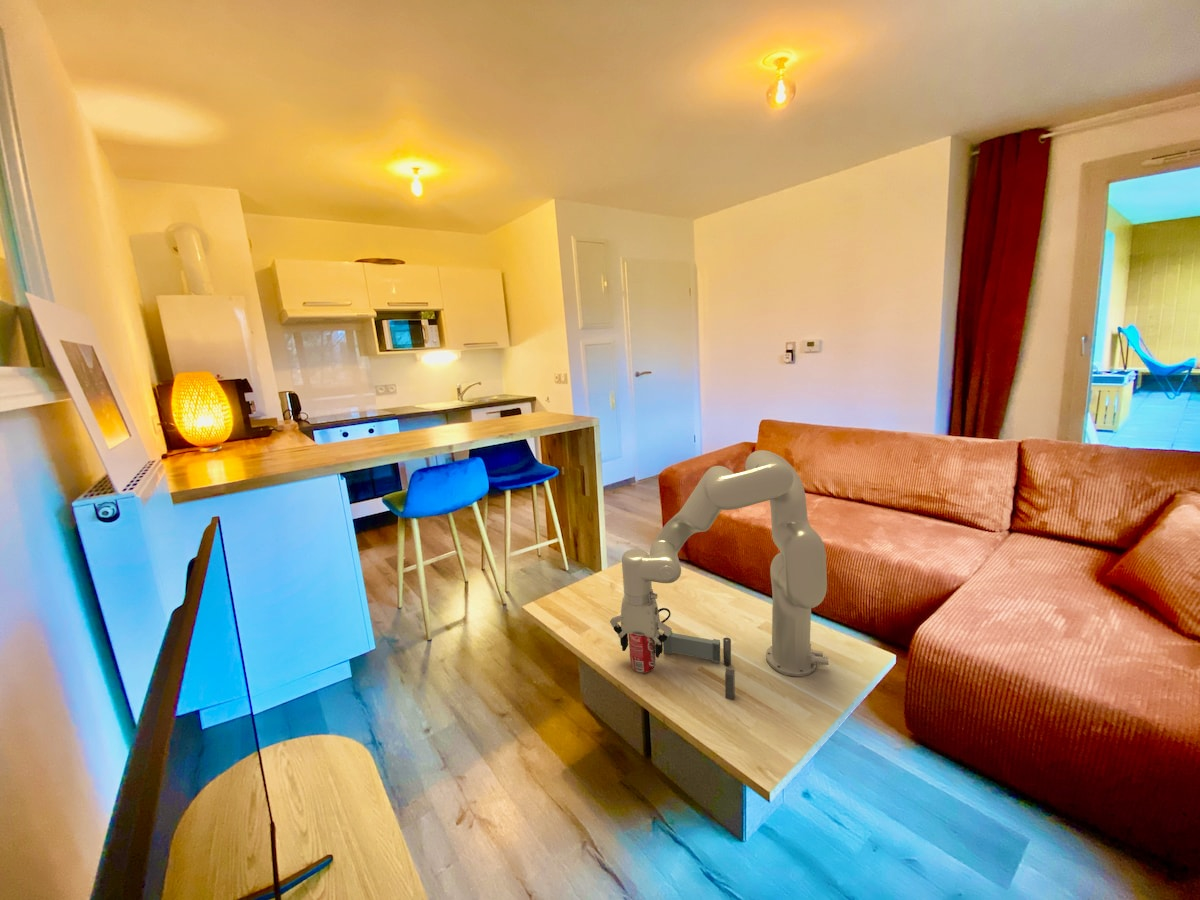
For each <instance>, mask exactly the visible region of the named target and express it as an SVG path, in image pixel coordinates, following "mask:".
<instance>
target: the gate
mask: <svg viewBox="0 0 1200 900" xmlns="http://www.w3.org/2000/svg"><path fill="white" fill-rule="evenodd" d="M664 633H665V632H664V631H663V634H664ZM663 653H664V654H669V655H672V653H675V654H681V655H686V656H690V657H691V656H692V657H696V658H701V659H706V660H711V661H712V662H713V663H717V664H720V662H721V640H720V639H717V638H713V639H710V638H703V637H698V636H692V635H688V634H687V635H686V634H681V633H674V632H673V631H672V630H671V633H670V634H669V636H668V638H667V640H665V641H664V642H663Z"/></svg>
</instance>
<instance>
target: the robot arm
mask: <svg viewBox="0 0 1200 900" xmlns="http://www.w3.org/2000/svg"><path fill="white" fill-rule="evenodd" d="M744 468H745V470H743V471H741V472H736V473H734V472H733V471H732V470H731V469H729V468H728V467H726V466H722V465H713V466H711V467H710V468H709V469H708V470H706V472H704V474H703V476H702V477H701V478H700V479H699V481H698V483H697V484H696V486H695V488H694V489H693V491H692V492H691V493H690V496H689V497H688V498H687V500H686V501H685V503H684V505H683V506H682V507H681V509H680V510H679V511H678V512H677V513H676V514H675V515H674V516H673V517H672V518H670V519H669V520H668V521H667V522H666V523H665V524H664V525H663V526H662V529H661V530H660V532H659V533H658V534H657V536H656V538H655V539H654V541H653V542H652V544H651V547H650V550H649V552H648V551H646V550H644V549H640V548H633V549H629V550H626V551H625V552H623V554H622V556H621V567H622V568H621V570H622V583H623V598H622V601H621V607H620V608H621V610H620V615H618V616H615V617H611V619H610V620H609V622H610V624H611V625H610V626H612V628H613V631H615V633H616V634H617V635H618V638H619V639H620V646H621V649H622V651H623V652H625V651H626V650H627V648H628V646H629V634H633V633H636V634H645V636H646V637H650V638H653V639H654V641H655V657H656V658H657V659H659V658H660V655H661V654H662V653H664V648H663V642H664V641H665V640H667V638H668V636H669V634H670V633H671V631H672V628H671V627H670V626H668V625H666V624H665V622H664V623H662V622H661V621H660V620H661V619H660V612H659V611H658V610H659V605H658V606H657V604H658V602H657V599H658V593H656V592H654V589H653V586H652V585H653V584H652V582H653V583H657V584H659V583H660V584H672V583H675V582H676V581H678V580H679V579H680V577H681V574H682V567H681V562H680V560H679V559H680V558H679V555H678V553H679V552H680V551H681V548H682V547H683V546H684V545H685V543H686V542H687V540H688V539H689V538H690V537H692V535H694V534H696V533H701V532H702V533H703V532H704V533H705V532H707V531H708V530H709V529H710V528H711V526H712V525H713V524H714V522H715V521H716V519H717V518H718V516H719V515H720V513H721V512H722V510H723V511H731V510H737V509H742V508H746V507H749V506H754V505H756V504H757V505H758V504H761V503H764V502H769V505H770V517H771V537H772V541H773V543H774V545H775V546H776V547H777V549H778V550H779V552H778V553H777V554H776V555H775V556H774V557H773V559H772V561H771V564H770V569H769V570H770V571H769V572H770V583H771V590H772V591H771V592H772V606H771V607H772V608H771V609H772V610H771V611H772V612H771V613H772V614H771V615H772V618H771V619H772V620H771V622H772V625H771V646H769V647H768V648H767V649H766V652H765V657H766V658H765V659H766V662H767V663H768V665H769V666H770V668H772V669H774V670H775V671H776V672H779V673H780V674H783V675H786V676H791V677H804V676H808V675H810V674H812V673H813V672H814V671H815V669H816V666H817V665H816V664H821V665H824V666H829V664H830V663H829V661H830V660H829V657H827V656H824V651H819V650H818V651H817V650H814V649H812V644H811V627H812V626H811V625H812V624H811V623H812V621H811V619H812V617H811V616H812V609H814V608H815V607H816V608H817V607H818V606H819V605H820V604H821V603H822V602H823V601H824V599H825V597H826V594H827V589H828V581H827V579H828V578H827V577H828V575H827V574H828V573H827V553H826V547H825V544H824V541H823V539H822V537H821V536H820V535H819V534H818V533H817V532H816V531H815V529H814V528H813V527H812V526H811V524H810V522H809V519H808V509H807V499H806V498H807V497H806V491H805V487H804V484H803V481H802V479H801V477H800V476H799V474H798V473H797V471H796V469H795V468H794V467H793V465H791V464H790V462H788V460H786V459H785V458H784V457H782V456H781V455H778V453H774V452H772V451H769V450H763V449H761V450H760V449H759V450H756V451H753V452H751V453H750V454H749V455H748V456H747V458H746V460H745V466H744ZM656 602H657V603H656ZM619 623H620V625H619ZM660 630H661V631H663V633H664V632H665V633H664V634H662V633H661V631H660ZM632 632H633V633H632Z"/></svg>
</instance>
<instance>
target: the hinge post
mask: <svg viewBox="0 0 1200 900" xmlns="http://www.w3.org/2000/svg"><path fill="white" fill-rule="evenodd" d="M722 643H723V645H722V647H723V648H722V649H723V650H722V651H723V665H724V666H725V667H730V666H731V665H732V640H731V638H730V637H727V636H726V637H723V639H722Z"/></svg>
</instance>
